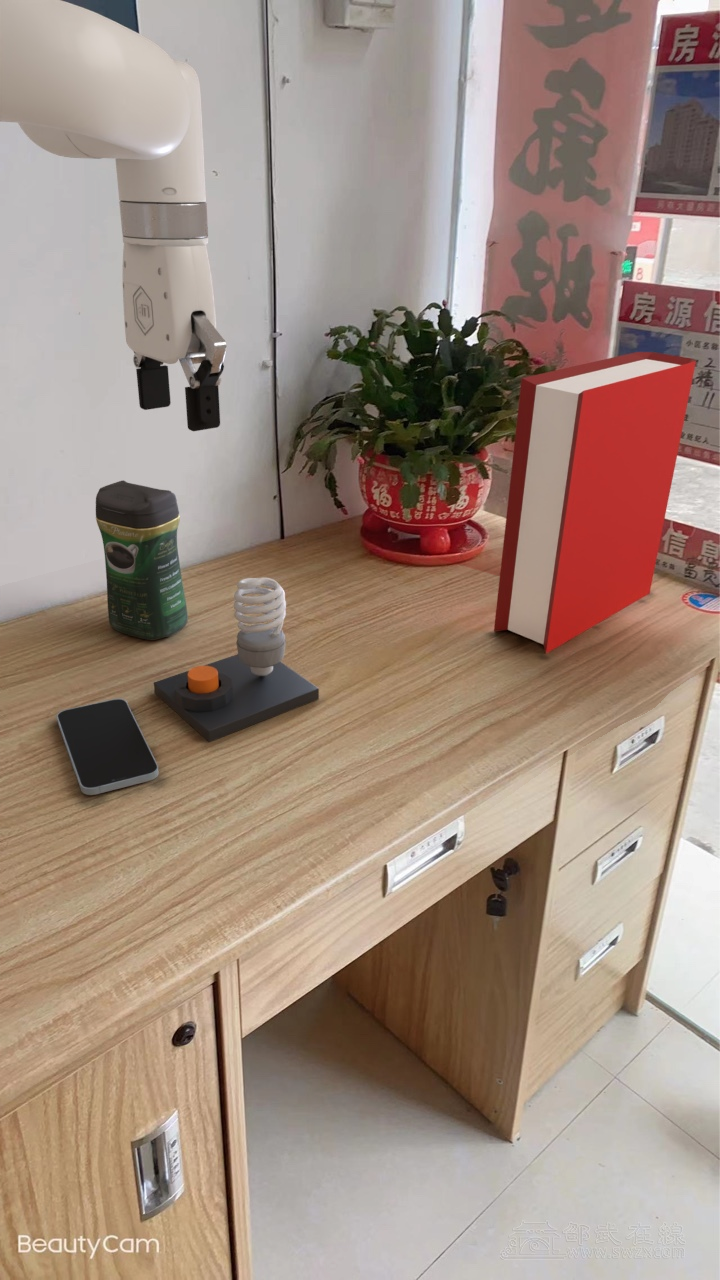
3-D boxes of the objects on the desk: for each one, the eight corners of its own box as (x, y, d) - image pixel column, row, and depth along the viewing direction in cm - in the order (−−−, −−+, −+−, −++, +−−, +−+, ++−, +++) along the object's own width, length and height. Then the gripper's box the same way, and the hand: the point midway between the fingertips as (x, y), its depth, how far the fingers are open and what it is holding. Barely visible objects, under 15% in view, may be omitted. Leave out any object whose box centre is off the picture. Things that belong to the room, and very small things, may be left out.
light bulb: (290, 664, 102) (288, 569, 96) (284, 690, 97) (282, 591, 91) (241, 662, 102) (237, 567, 97) (233, 687, 97) (227, 588, 92)
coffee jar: (198, 623, 114) (189, 484, 105) (157, 648, 108) (143, 503, 99) (141, 605, 118) (127, 470, 109) (98, 629, 112) (80, 487, 103)
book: (545, 653, 109) (583, 390, 94) (493, 631, 114) (521, 378, 99) (654, 590, 126) (701, 360, 111) (605, 573, 131) (643, 350, 116)
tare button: (198, 698, 93) (197, 683, 92) (183, 685, 95) (182, 671, 94) (224, 688, 95) (223, 674, 94) (209, 676, 97) (208, 662, 96)
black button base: (208, 742, 90) (207, 718, 89) (154, 693, 98) (151, 670, 97) (319, 699, 98) (319, 675, 97) (259, 656, 106) (259, 634, 105)
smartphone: (124, 696, 96) (161, 771, 84) (125, 703, 96) (162, 778, 85) (54, 711, 93) (82, 791, 81) (55, 719, 93) (83, 799, 82)
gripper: (84, 220, 82) (104, 405, 90) (174, 232, 70) (188, 444, 78) (157, 219, 86) (170, 396, 94) (253, 230, 74) (259, 431, 83)
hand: (178, 417), depth 86 cm, fingers open, 9 cm apart
